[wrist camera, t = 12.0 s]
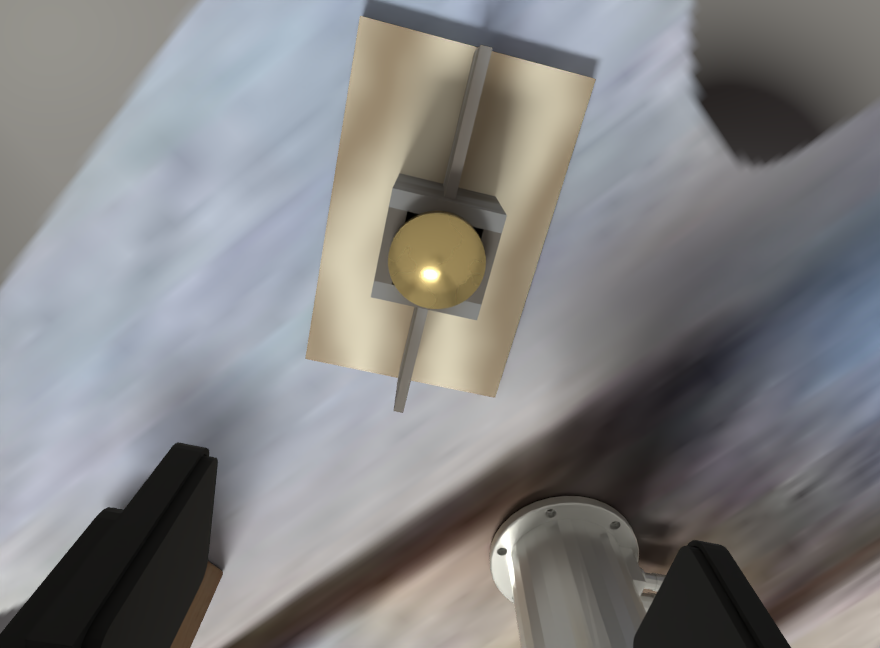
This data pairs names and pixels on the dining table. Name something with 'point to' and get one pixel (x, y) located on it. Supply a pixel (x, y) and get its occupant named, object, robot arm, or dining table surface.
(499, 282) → the hinge base
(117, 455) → the dining table surface
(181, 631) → the wooden block
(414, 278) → the round gold knob
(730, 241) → the dining table surface
